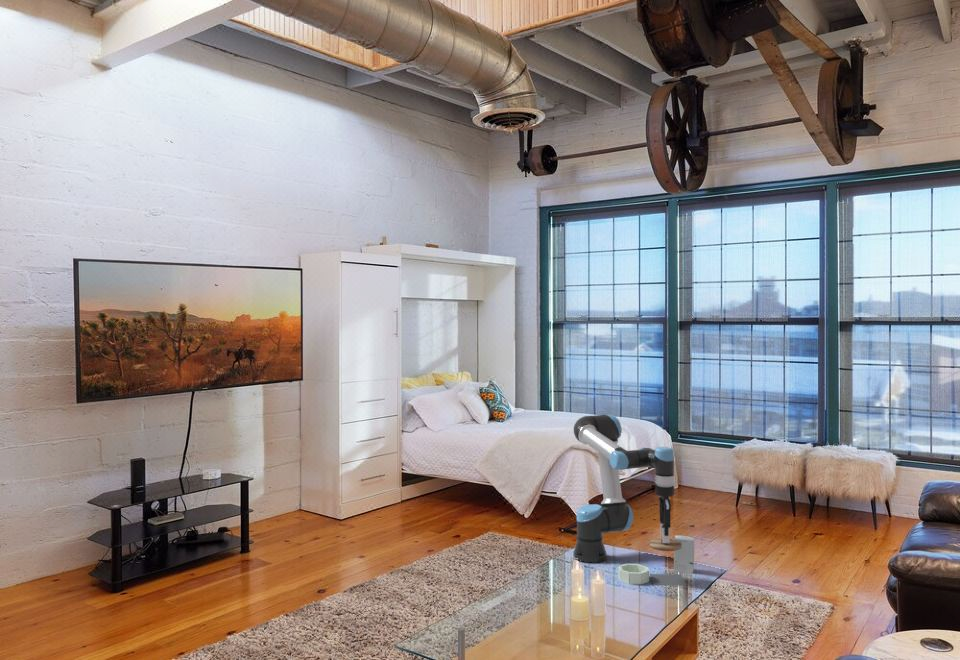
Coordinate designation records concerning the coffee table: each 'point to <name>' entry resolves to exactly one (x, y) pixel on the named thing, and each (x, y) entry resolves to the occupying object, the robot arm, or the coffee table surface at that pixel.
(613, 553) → the coffee table surface
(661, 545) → the lid
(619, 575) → the bowl
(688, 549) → the skincare box
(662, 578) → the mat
